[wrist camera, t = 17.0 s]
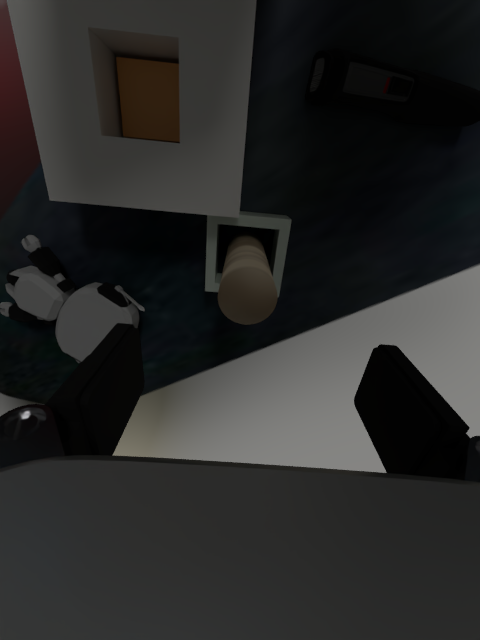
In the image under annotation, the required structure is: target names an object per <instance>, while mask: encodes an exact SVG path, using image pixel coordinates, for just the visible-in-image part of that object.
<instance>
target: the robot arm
mask: <svg viewBox="0 0 480 640" xmlns="http://www.w3.org/2000/svg"><path fill="white" fill-rule="evenodd" d="M143 388H144V373H143V363H142V353H141V344H140V334H139V329H138V328H135V327H134V325H133V324H125V323H117V324H116V325H115V326H114V327H113V328H112V329H111V331H110V332H109V333H108V334H107V335H106V336H105V338H104V339H103V340H102V341H101V342H100V343H99V344H98V346H97V347H96V348H95V349H94V350H93V351H92V353H91V354H90V355H88V356H87V357H86V358H85V359H84V360H83V361H82V362H81V364H80V365H79V366H78V367H77V368H76V369H75V370H74V372H73V373H72V374H71V375H70V376H69V377H68V379H67V380H66V381H65V382H64V383H63V384H62V385H61V387H60V388H59V389H58V390H57V391H56V392H55V393H54V395H53V396H52V397H51V398H50V399H49V400H48V402H47V403H46V404H45V405H43V404H28V405H24V406H20V407H17V408H15V409H13V410H11V411H8V412H7V413H5V414H3V415H2V416H0V640H480V436H474V437H472V438H469V436H468V435H467V434H466V432H467V431H468V430H469V426H468V425H467V424H466V423H465V422H464V421H463V420H462V419H461V417H460V416H459V415H458V414H457V413H456V412H455V411H454V410H453V409H452V407H450V405H449V404H448V403H447V402H446V401H445V400H444V398H443V397H442V396H441V395H440V394H439V393H438V392H437V391H436V390H435V388H434V387H433V386H432V385H431V384H430V383H429V382H428V381H427V379H426V378H425V377H424V376H423V375H422V374H421V373H420V372H419V370H417V368H416V367H415V366H414V365H413V364H412V363H411V361H410V360H409V359H408V358H407V357H406V356H405V355H404V354H403V353H402V351H401V350H400V349H399V348H398V347H397V346H394V345H382V344H381V345H379V346H378V347H377V348H374V349H373V351H372V353H371V356H370V359H369V361H368V364H367V367H366V369H365V372H364V374H363V377H362V380H361V382H360V385H359V387H358V390H357V392H356V395H355V398H354V404H355V407H356V409H357V411H358V413H359V416H360V418H361V420H362V422H363V424H364V426H365V428H366V430H367V432H368V434H369V436H370V438H371V441H372V442H373V445H374V447H375V449H376V451H377V453H378V455H379V457H380V459H381V461H382V464H383V466H384V468H385V470H386V472H387V473H378V472H364V471H349V470H337V469H323V468H307V467H293V466H279V465H264V464H249V463H233V462H218V461H201V460H186V459H169V458H153V457H129V456H112V455H113V453H114V451H115V449H116V446H117V444H118V442H119V440H120V438H121V436H122V434H123V432H124V429H125V427H126V425H127V423H128V421H129V419H130V417H131V415H132V412H133V410H134V408H135V406H136V404H137V402H138V400H139V398H140V395H141V393H142V391H143Z"/></svg>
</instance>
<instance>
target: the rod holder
mask: <svg viewBox="0 0 480 640" xmlns="http://www.w3.org/2000/svg"><path fill="white" fill-rule="evenodd" d="M291 221H292V220H291V219H290V218H289V217H288V216H286V215H276V214H266V213H255V212H245V211H240V212H239V218H234V217H223V216H212V215H207V245H206V278H205V291H209V292H218V291H219V286H220V282H221V277H222V273H218V254H219V234H220V224H224V225H235V226H246V227H257V228H268V229H275V233H274V240H273V247H272V254H271V261H270V270H271V273H272V277H273V280H274V283H275V286H276V289H277V297H279V293H280V287H281V281H282V275H283V269H284V263H285V257H286V251H287V245H288V239H289V233H290V227H291Z"/></svg>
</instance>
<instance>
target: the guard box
mask: <svg viewBox="0 0 480 640" xmlns="http://www.w3.org/2000/svg"><path fill="white" fill-rule="evenodd" d="M256 1H257V0H7V4H8V9H9V14H10V18H11V23H12V27H13V32H14V36H15V42H16V46H17V51H18V55H19V60H20V65H21V69H22V74H23V79H24V83H25V87H26V92H27V97H28V101H29V106H30V111H31V115H32V120H33V125H34V129H35V134H36V138H37V143H38V148H39V153H40V157H41V162H42V166H43V171H44V176H45V180H46V185H47V190H48V194H49V199H50V200H52V201H62V202H73V203H84V204H95V205H105V206H116V207H127V208H137V209H148V210H159V211H169V212H180V213H191V214H202V215H212V216H223V217H234V218H239V212H240V200H241V187H242V175H243V162H244V150H245V138H246V125H247V113H248V100H249V88H250V75H251V63H252V51H253V38H254V26H255V13H256ZM116 57H122V58H131V59H140V60H149V61H158V62H167V63H176V64H179V112H180V143H171V142H161V141H151V140H141V139H131V138H127V137H124V136H123V126H122V115H121V105H120V94H119V83H118V72H117V61H116Z"/></svg>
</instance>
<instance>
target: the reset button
mask: <svg viewBox="0 0 480 640" xmlns="http://www.w3.org/2000/svg"><path fill="white" fill-rule="evenodd" d="M116 61H117V72H118V83H119V94H120V105H121V115H122V126H123V136H124V137H127V138H131V139H141V140H151V141H161V142H171V143H180V112H179V64H176V63H167V62H158V61H149V60H140V59H131V58H122V57H116Z"/></svg>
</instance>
